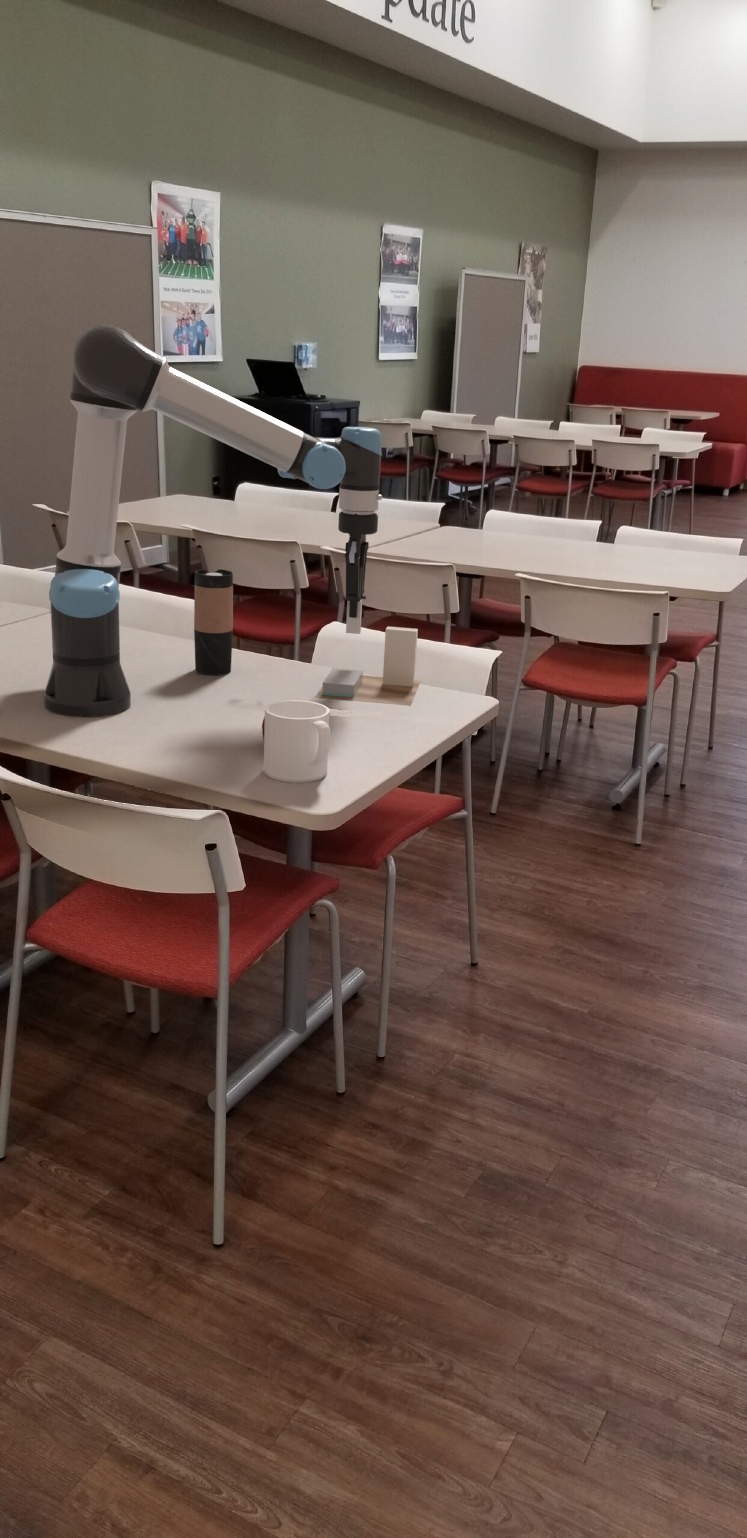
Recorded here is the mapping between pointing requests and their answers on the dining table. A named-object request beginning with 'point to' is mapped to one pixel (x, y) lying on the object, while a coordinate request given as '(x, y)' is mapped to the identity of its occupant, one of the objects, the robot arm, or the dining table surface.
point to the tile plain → (400, 656)
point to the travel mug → (213, 621)
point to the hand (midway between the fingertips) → (353, 632)
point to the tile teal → (342, 682)
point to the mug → (296, 741)
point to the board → (380, 692)
